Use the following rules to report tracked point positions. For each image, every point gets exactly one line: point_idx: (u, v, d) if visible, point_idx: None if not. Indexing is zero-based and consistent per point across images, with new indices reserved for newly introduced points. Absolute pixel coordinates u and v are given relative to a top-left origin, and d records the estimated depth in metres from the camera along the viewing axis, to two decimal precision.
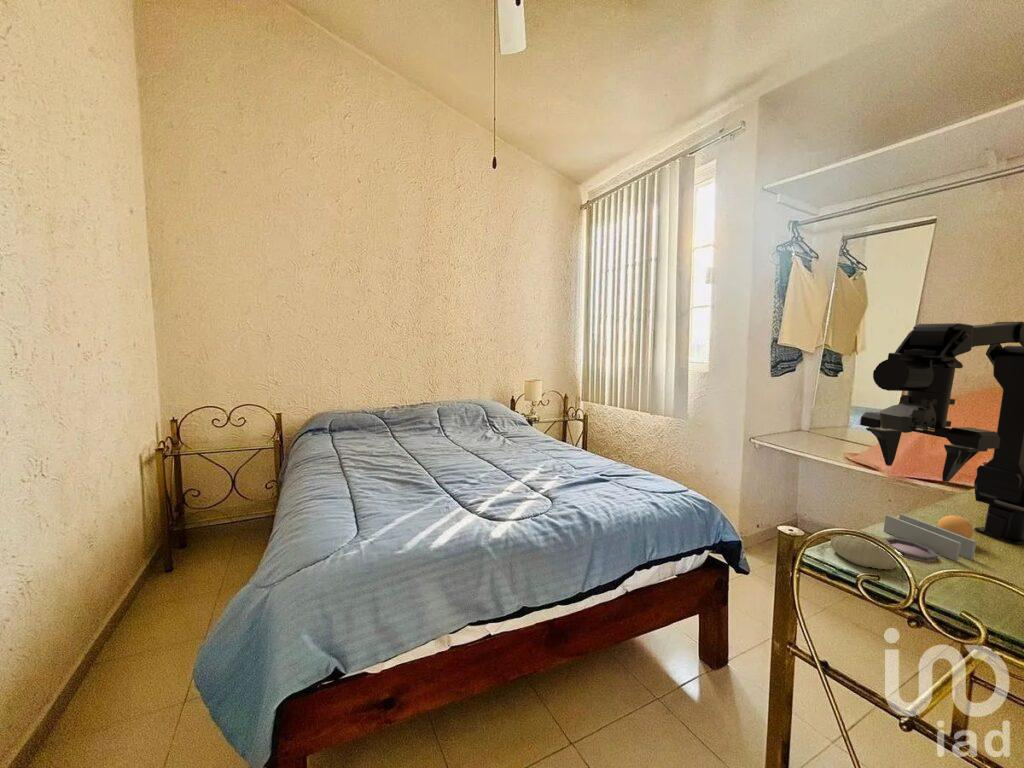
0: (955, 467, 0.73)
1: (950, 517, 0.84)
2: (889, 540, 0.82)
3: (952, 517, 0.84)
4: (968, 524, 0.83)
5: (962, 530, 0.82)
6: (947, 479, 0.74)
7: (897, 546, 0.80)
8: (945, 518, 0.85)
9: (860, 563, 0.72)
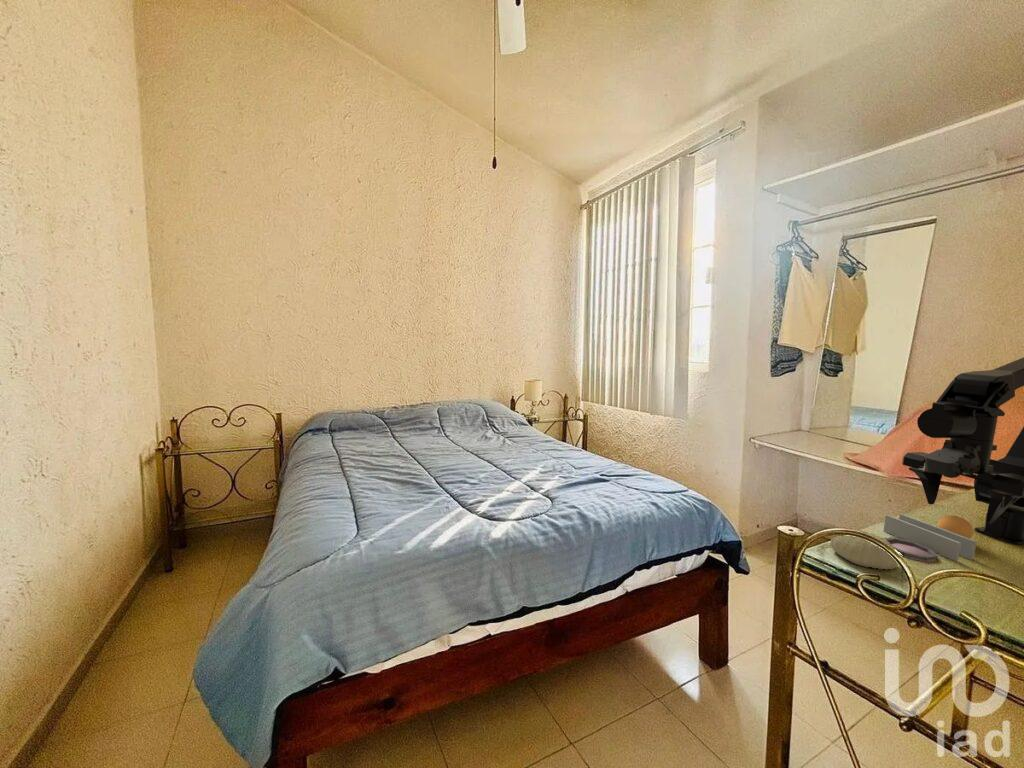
0: (998, 510, 0.78)
1: (950, 517, 0.84)
2: (889, 540, 0.82)
3: (952, 517, 0.84)
4: (968, 524, 0.83)
5: (962, 530, 0.82)
6: (991, 521, 0.79)
7: (897, 546, 0.80)
8: (945, 518, 0.85)
9: (860, 563, 0.72)
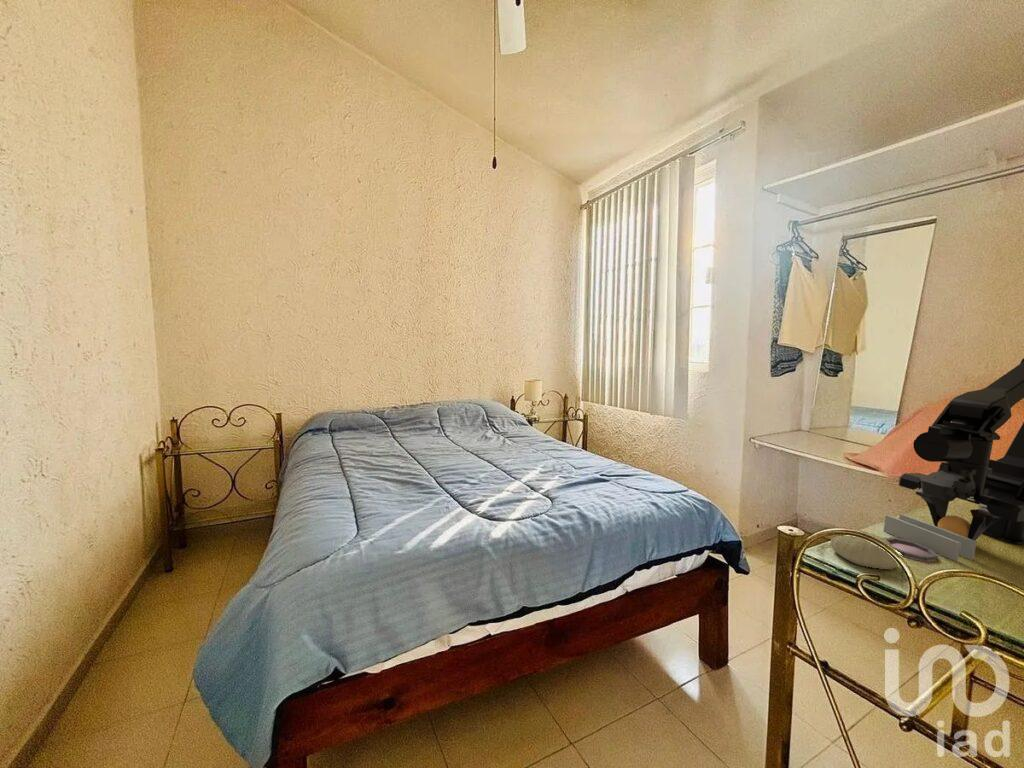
0: (980, 529, 0.81)
1: (950, 517, 0.84)
2: (889, 540, 0.82)
3: (952, 517, 0.84)
4: (968, 524, 0.83)
5: (962, 530, 0.82)
6: None
7: (897, 546, 0.80)
8: (945, 518, 0.85)
9: (860, 562, 0.72)
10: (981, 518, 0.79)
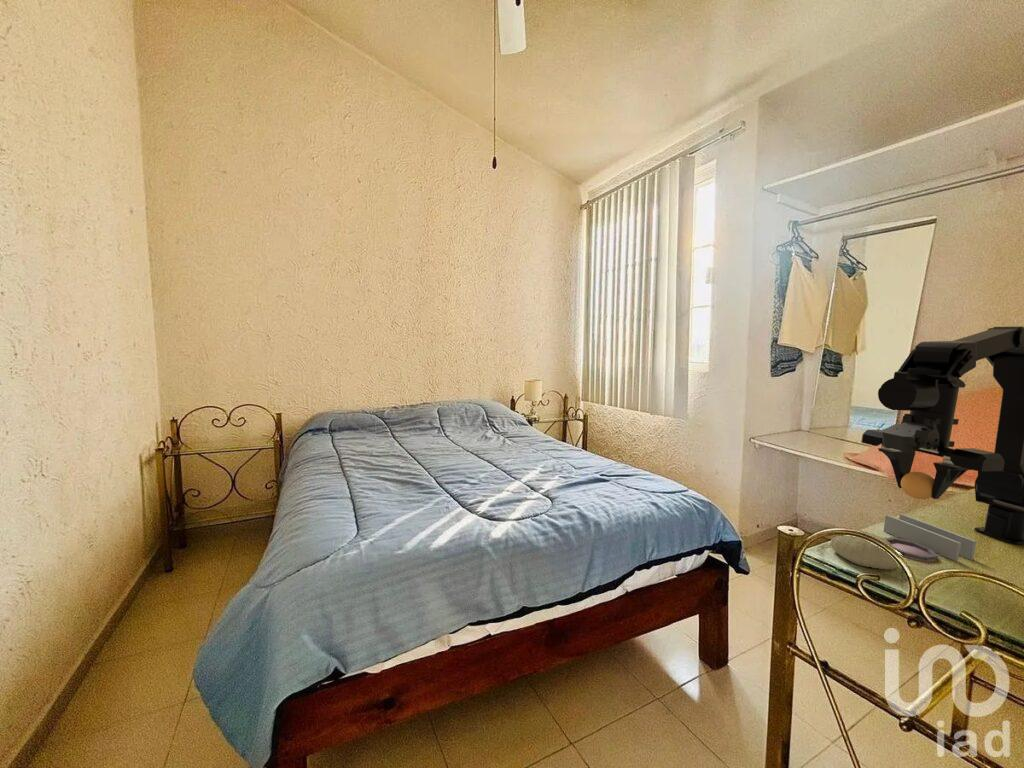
0: (944, 485, 0.74)
1: (913, 473, 0.78)
2: (889, 540, 0.82)
3: (915, 473, 0.78)
4: (932, 480, 0.76)
5: (925, 486, 0.76)
6: (936, 496, 0.75)
7: (897, 546, 0.80)
8: (908, 474, 0.78)
9: (860, 562, 0.72)
10: (945, 471, 0.73)
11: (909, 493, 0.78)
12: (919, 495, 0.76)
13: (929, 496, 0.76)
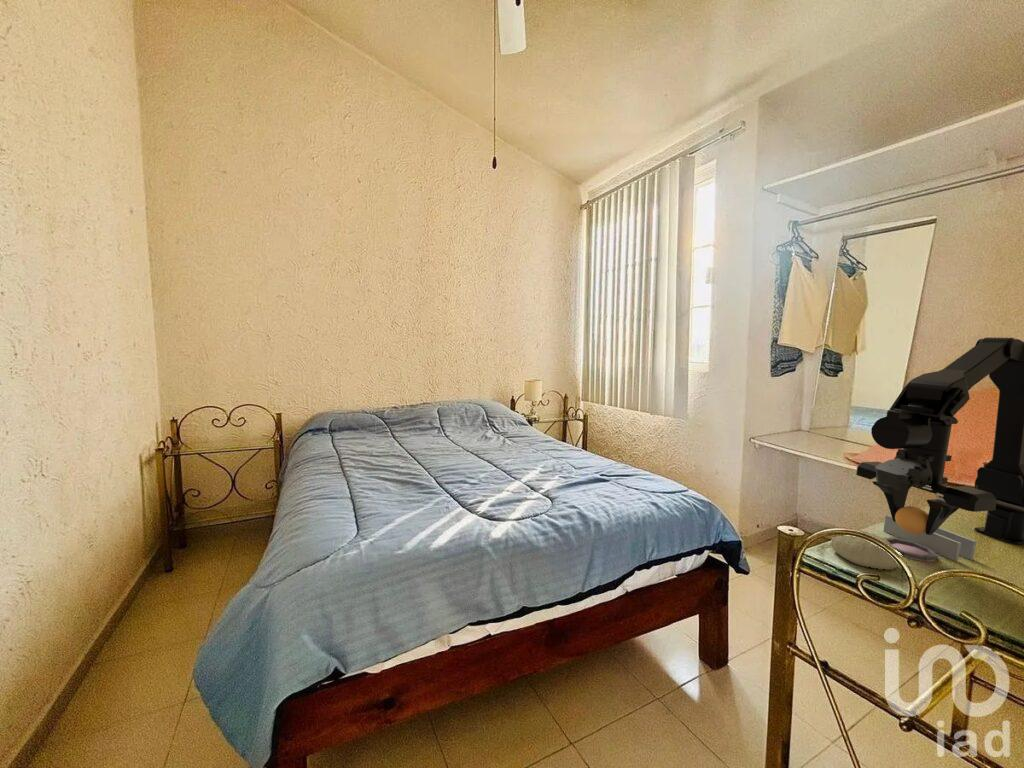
0: (938, 521, 0.75)
1: (907, 508, 0.78)
2: (889, 540, 0.82)
3: (909, 508, 0.78)
4: (926, 515, 0.77)
5: (919, 522, 0.76)
6: (930, 532, 0.76)
7: (897, 546, 0.80)
8: (902, 509, 0.79)
9: (860, 563, 0.72)
10: (938, 509, 0.73)
11: (903, 528, 0.78)
12: (913, 530, 0.77)
13: (923, 532, 0.77)
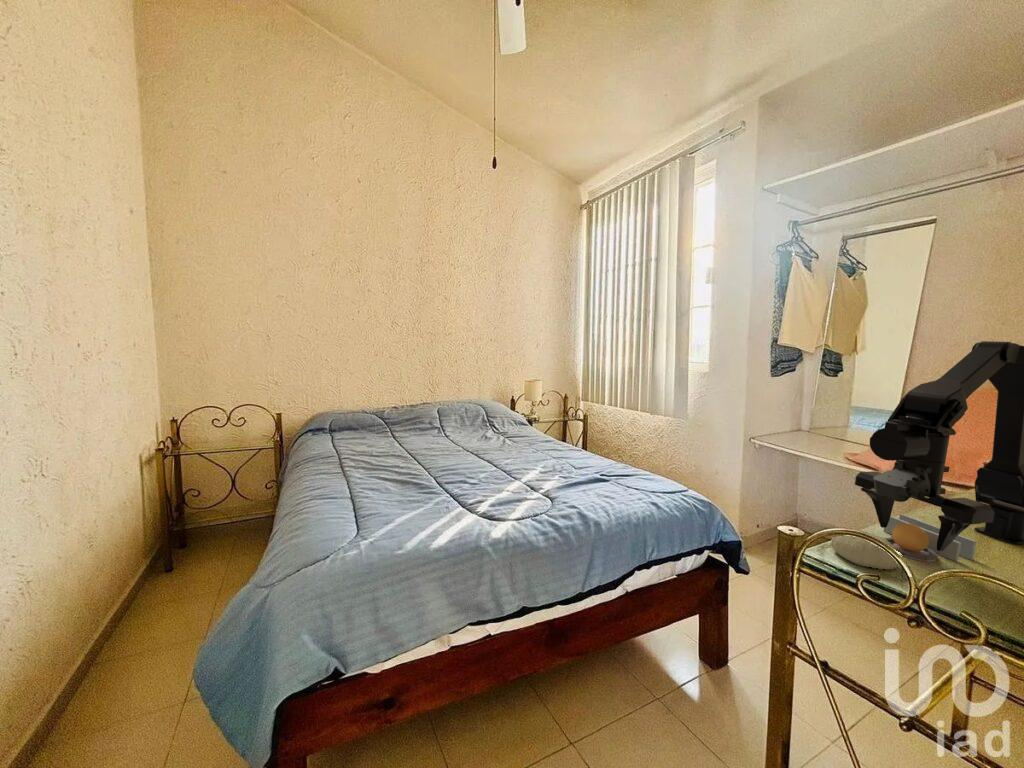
0: (949, 537, 0.73)
1: (904, 525, 0.79)
2: (889, 540, 0.82)
3: (906, 525, 0.79)
4: (923, 533, 0.77)
5: (916, 539, 0.77)
6: (941, 548, 0.74)
7: (897, 546, 0.80)
8: (899, 526, 0.79)
9: (861, 563, 0.72)
10: (950, 525, 0.72)
11: (900, 545, 0.79)
12: (910, 548, 0.77)
13: (920, 549, 0.77)
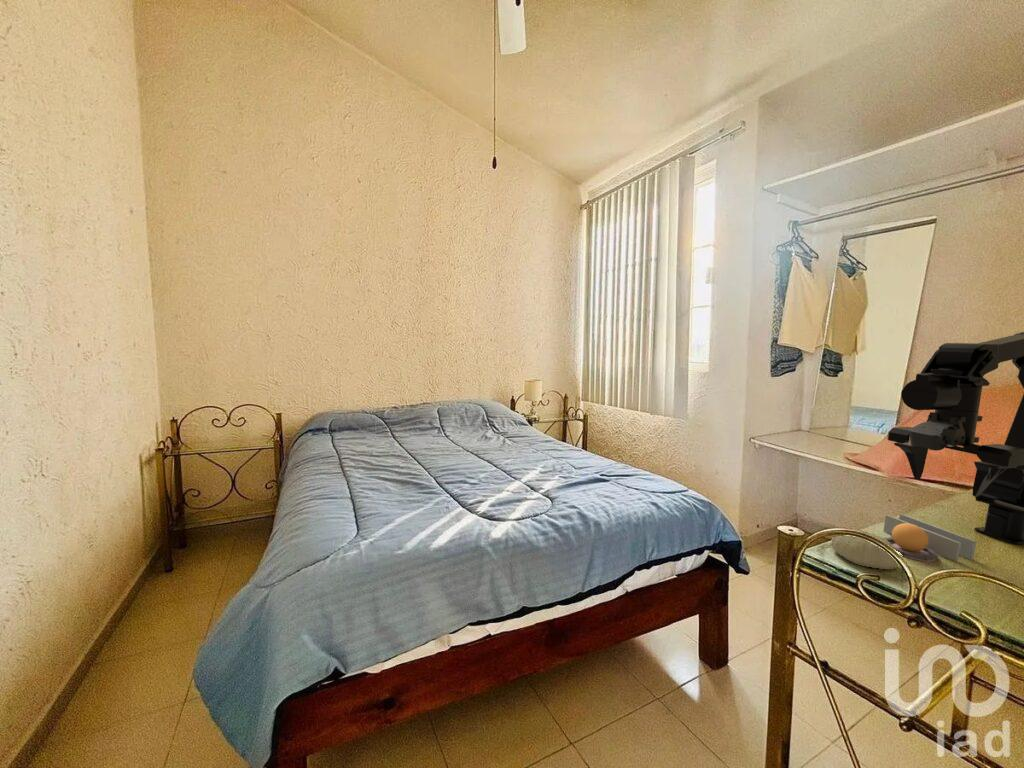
0: (985, 482, 0.76)
1: (904, 525, 0.79)
2: (889, 540, 0.82)
3: (906, 525, 0.79)
4: (922, 532, 0.77)
5: (915, 539, 0.77)
6: (977, 494, 0.77)
7: (897, 546, 0.80)
8: (899, 526, 0.79)
9: (861, 562, 0.72)
10: (986, 470, 0.75)
11: (900, 545, 0.79)
12: (910, 547, 0.77)
13: (920, 549, 0.77)
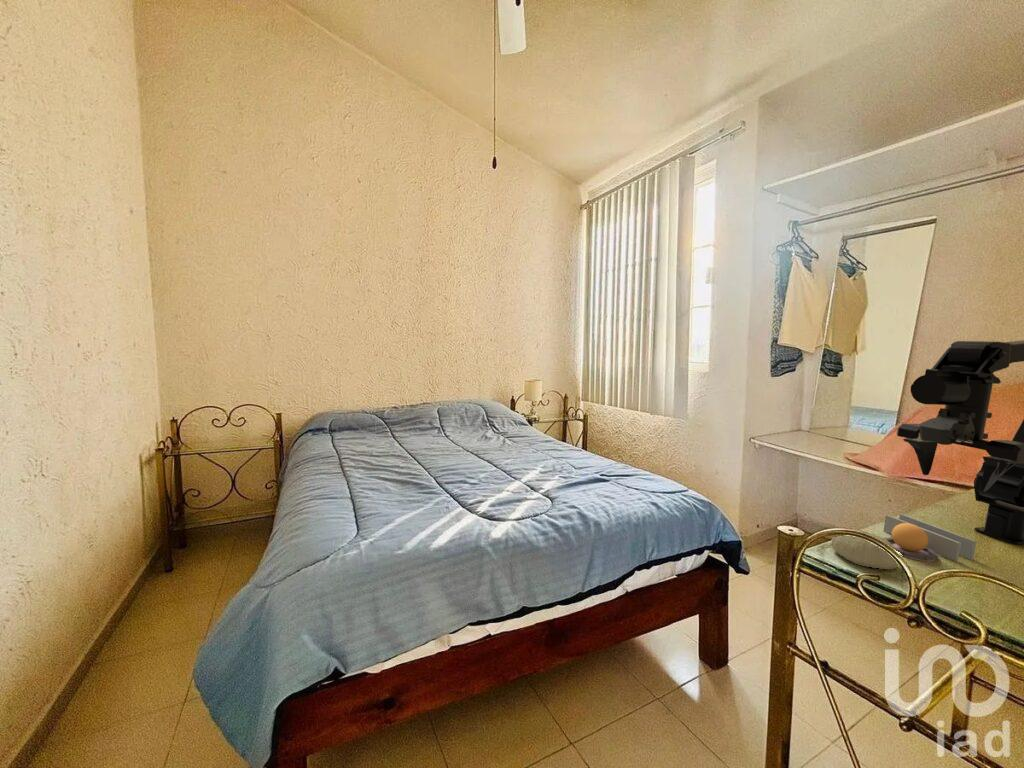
0: (993, 477, 0.78)
1: (904, 525, 0.79)
2: (889, 540, 0.82)
3: (906, 525, 0.79)
4: (922, 532, 0.77)
5: (915, 539, 0.77)
6: (985, 489, 0.79)
7: (897, 546, 0.80)
8: (899, 526, 0.79)
9: (861, 563, 0.72)
10: (994, 464, 0.76)
11: (900, 545, 0.79)
12: (910, 547, 0.77)
13: (920, 549, 0.77)
